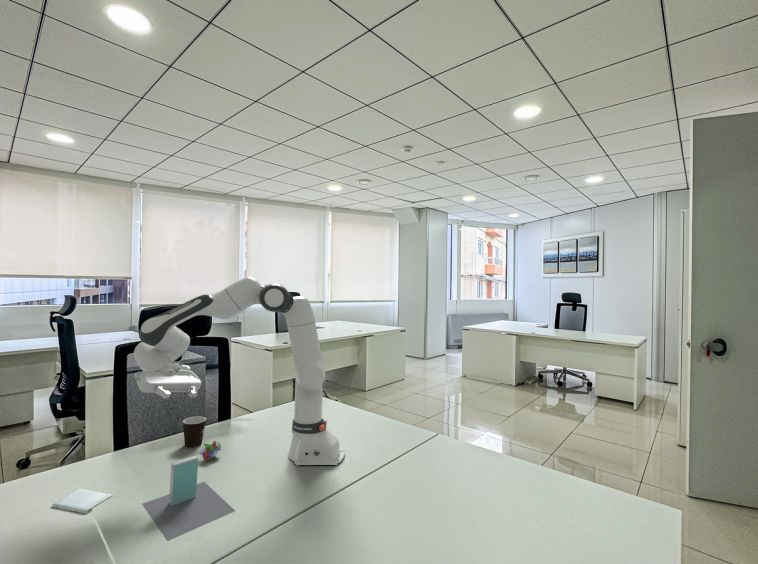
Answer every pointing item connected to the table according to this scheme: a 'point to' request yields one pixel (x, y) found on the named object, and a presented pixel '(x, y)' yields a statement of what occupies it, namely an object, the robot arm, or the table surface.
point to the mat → (187, 511)
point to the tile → (183, 480)
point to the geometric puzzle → (210, 450)
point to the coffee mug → (193, 431)
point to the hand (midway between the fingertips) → (181, 396)
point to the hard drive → (81, 500)
